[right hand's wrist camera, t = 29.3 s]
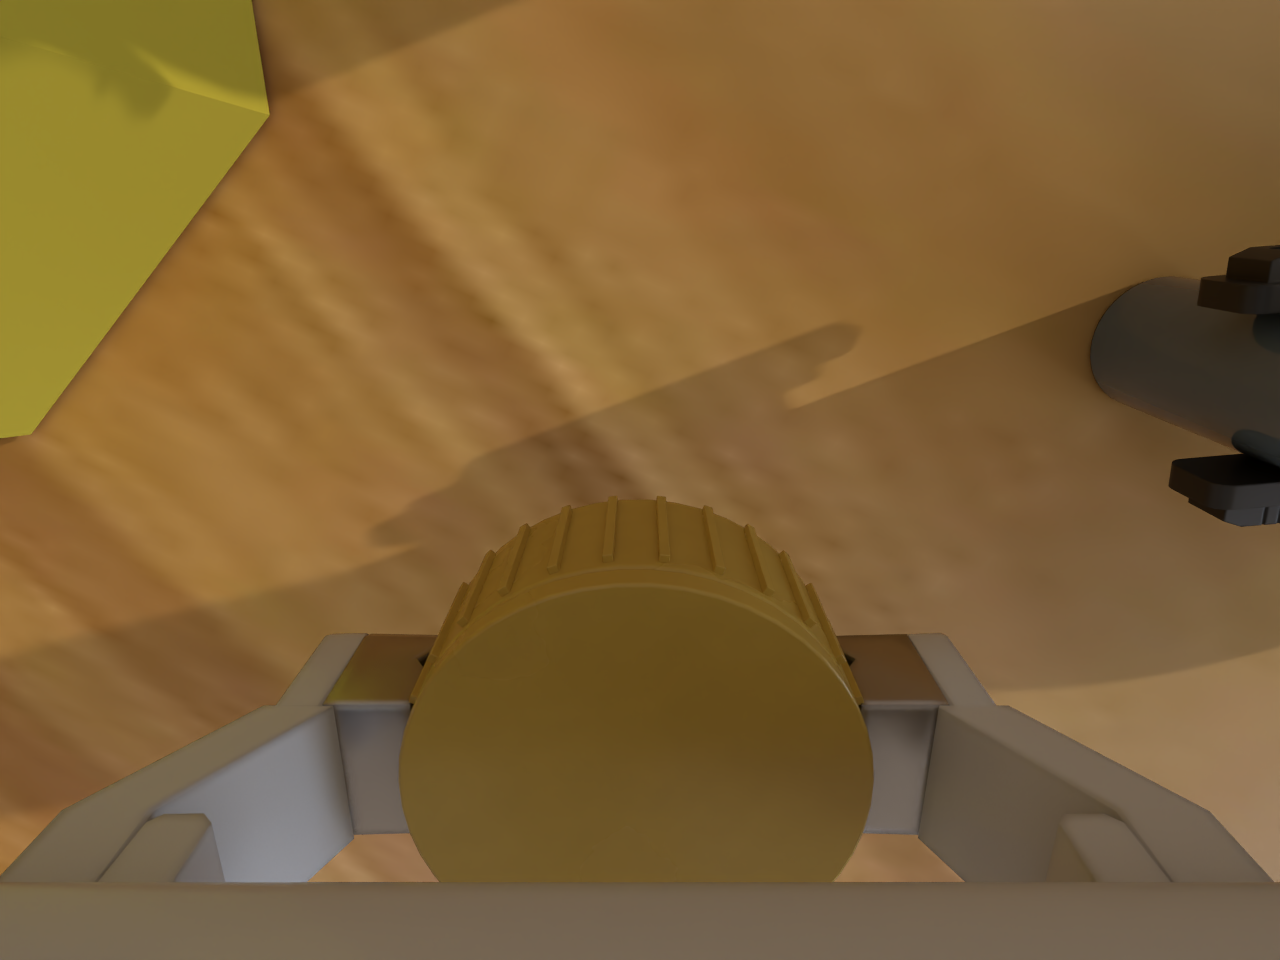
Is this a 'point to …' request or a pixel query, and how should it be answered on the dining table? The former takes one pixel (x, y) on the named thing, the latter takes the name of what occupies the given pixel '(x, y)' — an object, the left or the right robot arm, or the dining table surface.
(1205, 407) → the jar
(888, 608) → the dining table surface
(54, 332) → the crown
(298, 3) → the dining table surface
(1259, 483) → the left robot arm
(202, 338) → the dining table surface
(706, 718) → the lid
